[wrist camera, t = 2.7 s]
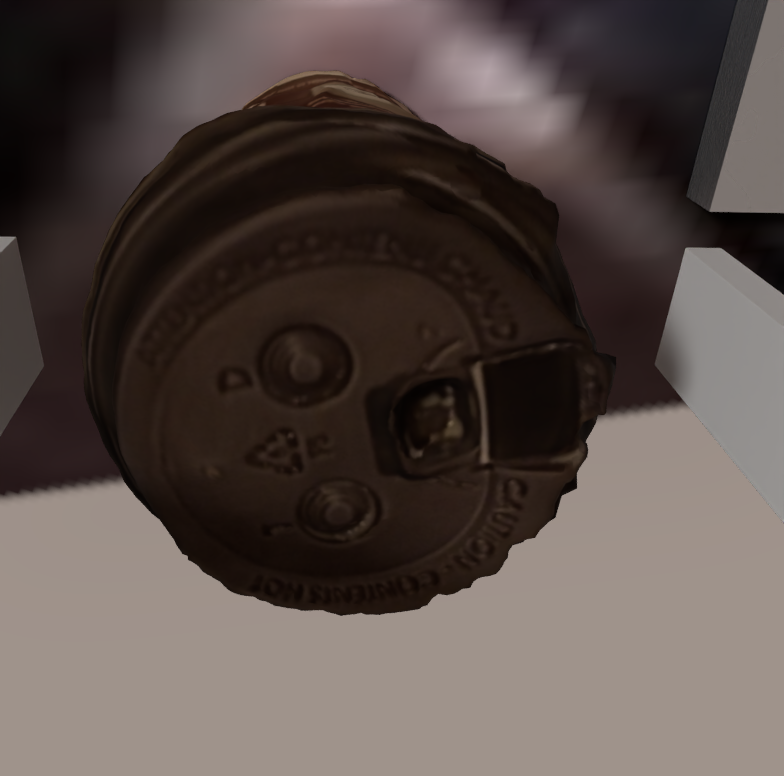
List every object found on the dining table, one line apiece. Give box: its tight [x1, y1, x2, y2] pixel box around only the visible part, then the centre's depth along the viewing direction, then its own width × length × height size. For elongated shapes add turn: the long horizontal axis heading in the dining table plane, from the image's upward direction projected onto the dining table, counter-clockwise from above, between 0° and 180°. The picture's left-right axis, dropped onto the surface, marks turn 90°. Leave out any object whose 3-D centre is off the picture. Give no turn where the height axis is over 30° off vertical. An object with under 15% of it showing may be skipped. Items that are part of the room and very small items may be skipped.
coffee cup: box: [81, 71, 616, 616], centre depth 16 cm, size 9×8×13 cm
